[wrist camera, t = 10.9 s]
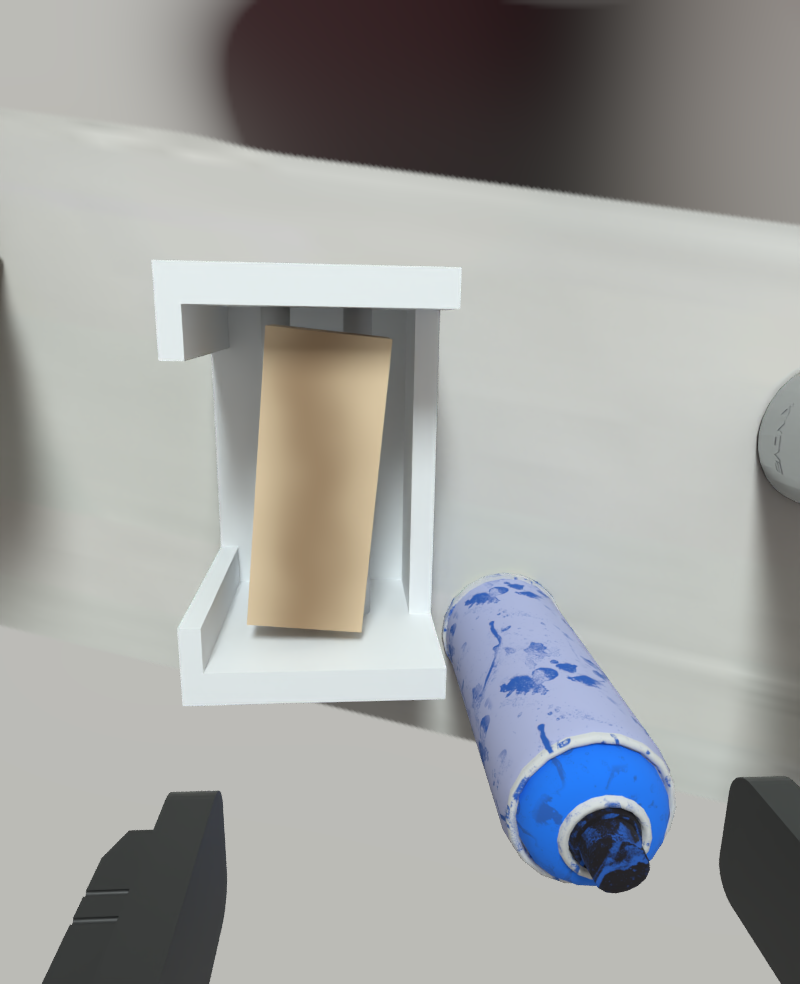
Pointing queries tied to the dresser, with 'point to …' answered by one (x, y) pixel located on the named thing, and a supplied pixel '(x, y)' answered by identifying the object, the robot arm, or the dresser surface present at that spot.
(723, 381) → the dresser surface
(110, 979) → the robot arm
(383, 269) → the cabinet bay
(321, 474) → the shelf board
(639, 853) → the aerosol can
